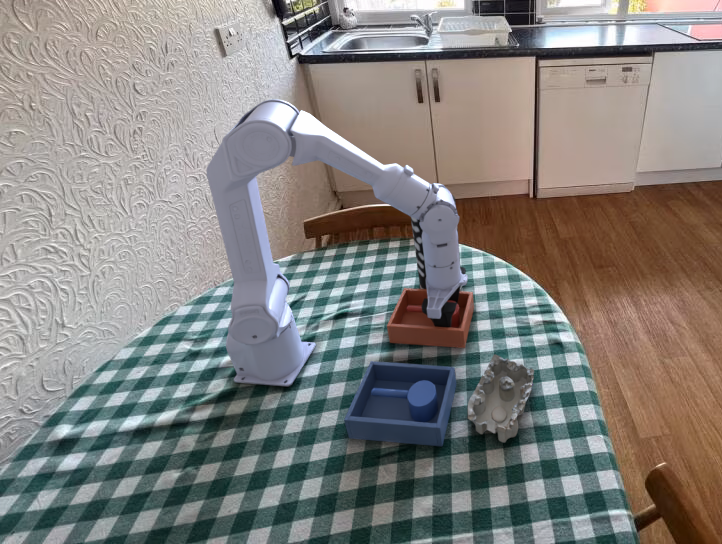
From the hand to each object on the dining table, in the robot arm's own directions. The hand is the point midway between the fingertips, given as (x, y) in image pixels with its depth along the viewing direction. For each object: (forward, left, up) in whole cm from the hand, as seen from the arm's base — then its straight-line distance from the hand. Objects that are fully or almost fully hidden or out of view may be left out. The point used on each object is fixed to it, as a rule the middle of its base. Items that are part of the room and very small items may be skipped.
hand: (447, 317), depth 74 cm
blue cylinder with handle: (-3, -16, -2) cm, 16 cm away
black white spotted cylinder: (-4, +10, +8) cm, 13 cm away
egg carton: (+11, -14, -2) cm, 18 cm away
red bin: (-3, 0, -2) cm, 3 cm away
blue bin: (-3, -16, -2) cm, 16 cm away
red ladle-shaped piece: (-3, 0, -1) cm, 3 cm away
